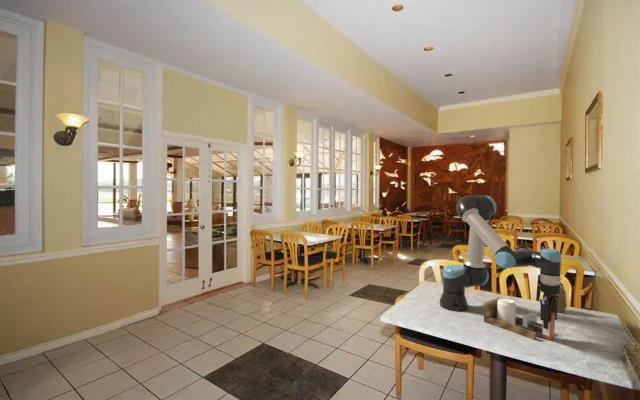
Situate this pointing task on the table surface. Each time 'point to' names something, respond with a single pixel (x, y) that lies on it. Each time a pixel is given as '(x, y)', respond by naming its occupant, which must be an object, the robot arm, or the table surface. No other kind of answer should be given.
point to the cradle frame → (491, 318)
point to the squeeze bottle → (561, 300)
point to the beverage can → (506, 310)
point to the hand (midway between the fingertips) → (548, 333)
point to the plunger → (531, 325)
